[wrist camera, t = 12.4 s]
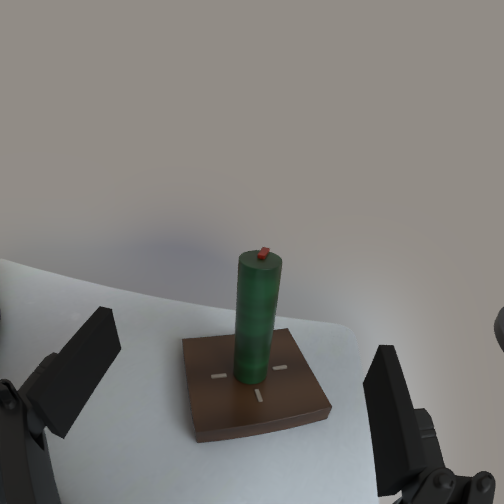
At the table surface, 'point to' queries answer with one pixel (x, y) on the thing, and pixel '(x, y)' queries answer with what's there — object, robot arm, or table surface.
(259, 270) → the dial knob
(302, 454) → the table surface
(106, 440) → the table surface
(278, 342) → the dial base
